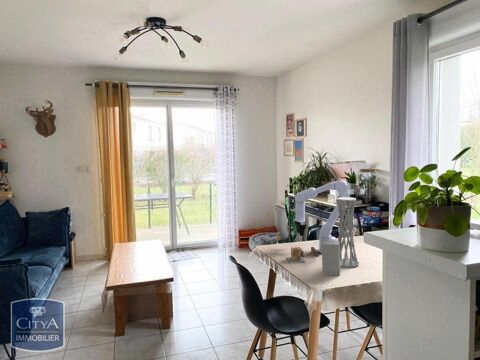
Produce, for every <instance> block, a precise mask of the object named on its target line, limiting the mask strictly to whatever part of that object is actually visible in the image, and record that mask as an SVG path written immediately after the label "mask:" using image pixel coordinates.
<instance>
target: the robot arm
mask: <svg viewBox="0 0 480 360" xmlns="http://www.w3.org/2000/svg"><path fill="white" fill-rule="evenodd" d="M329 190H331V191H336V192H337V193H338V194H339V198H340V197H350V186H349V184H348V182H347V181H346V180H344V179H340V180H336V181H332V182H329V183H326V184H324V185H321V186H319V187H316V188H315V187H308V189H305V190H301V192H300V191H299V192H298V193H296V194H295V195H294V200H295V206H294V207H295V210H294V211H295V213H294V215H295V217H294V219H293V223H294V225H295V228H296V233H297V234H298V235H299V236H300V237H303V236H304V234H305V230H306V227H307V224H306V223H305V221H306V201H308V200H310V199H313V198H315V197H318V194H320V193H324V192H326V191H329ZM350 198H351V197H350ZM342 211H343V206H342ZM339 218H340V215H339V209H338V204H337V203H336V205H335V207H334V209H333V210H332V212H331V214H330V216H329V217H328V219H327V220H326V222H325V223H324V224H323V225H322V226H321V228H320V229H319V230H318V233H319V236H318V237H319V241H318V242H319V246H318V248H317V249H316V250H317V251H318V252H319V253H320V254H322V242H323V241H337V239H336V236H332V234H331V233H332V231H333V227H334V226H335V223H336V222H337V220H338V219H339Z"/></svg>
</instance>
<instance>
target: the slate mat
mask: <svg viewBox="0 0 480 360" xmlns="http://www.w3.org/2000/svg"><path fill="white" fill-rule="evenodd" d="M285 259H286V260H287V262H288V263H290V264H292V263H291V262H296V263H306V261H305V259H304V257H301V256H300V260H295V261H292V259H291V256H286V257H285Z"/></svg>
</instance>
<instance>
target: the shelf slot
mask: <svg viewBox="0 0 480 360" xmlns="http://www.w3.org/2000/svg"><path fill="white" fill-rule="evenodd" d="M299 248H300V257H302V258H305V254H304V253H305V252H304V250H303V249H302V248H301V247H300V246H299ZM310 252H311V254H312V255H313V256H314V257H316V258H318V255H319V254H318V252H319V251H318V250H317V249H316V248H315V247H314V246H311V247H310Z"/></svg>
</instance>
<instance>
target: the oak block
mask: <svg viewBox="0 0 480 360" xmlns="http://www.w3.org/2000/svg"><path fill="white" fill-rule="evenodd" d="M299 247H300V246H299ZM299 247H298V246H297V247H290V257H291V259H292V261H295V260H300V257H301V256H300V248H301V247H300V248H299Z"/></svg>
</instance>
